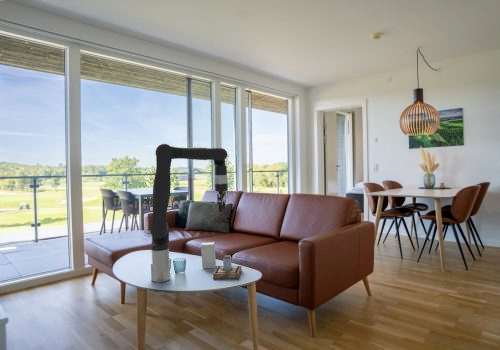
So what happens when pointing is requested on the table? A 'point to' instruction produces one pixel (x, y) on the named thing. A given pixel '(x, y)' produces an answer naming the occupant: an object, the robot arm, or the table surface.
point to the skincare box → (208, 255)
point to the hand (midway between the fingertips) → (222, 210)
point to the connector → (227, 263)
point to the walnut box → (227, 273)
